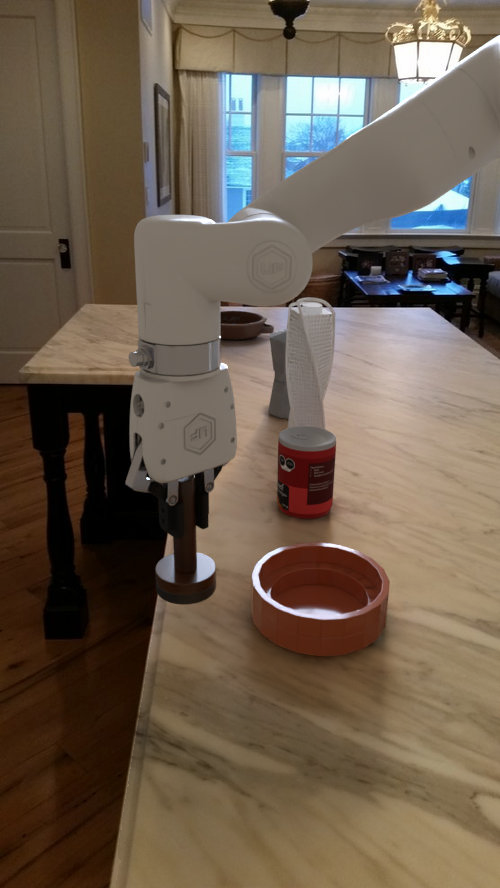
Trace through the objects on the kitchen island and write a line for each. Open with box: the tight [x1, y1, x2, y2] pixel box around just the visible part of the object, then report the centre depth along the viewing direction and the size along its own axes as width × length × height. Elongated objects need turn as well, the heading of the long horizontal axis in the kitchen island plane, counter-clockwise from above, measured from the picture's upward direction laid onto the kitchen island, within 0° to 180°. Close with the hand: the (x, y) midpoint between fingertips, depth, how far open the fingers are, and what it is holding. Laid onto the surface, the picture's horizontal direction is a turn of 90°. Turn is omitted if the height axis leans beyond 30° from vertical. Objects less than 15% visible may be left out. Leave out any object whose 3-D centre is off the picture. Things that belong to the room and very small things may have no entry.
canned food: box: [276, 426, 337, 520], centre depth 99 cm, size 8×8×11 cm
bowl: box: [250, 541, 391, 657], centre depth 76 cm, size 15×15×5 cm
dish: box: [220, 310, 275, 341], centre depth 193 cm, size 18×22×5 cm
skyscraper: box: [285, 297, 336, 430], centre depth 107 cm, size 8×8×28 cm
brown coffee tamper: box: [154, 475, 217, 606], centre depth 73 cm, size 6×6×13 cm
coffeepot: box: [268, 328, 290, 420], centre depth 133 cm, size 15×9×18 cm, turn 19°
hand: (184, 527), depth 72 cm, fingers closed on brown coffee tamper, 2 cm apart
